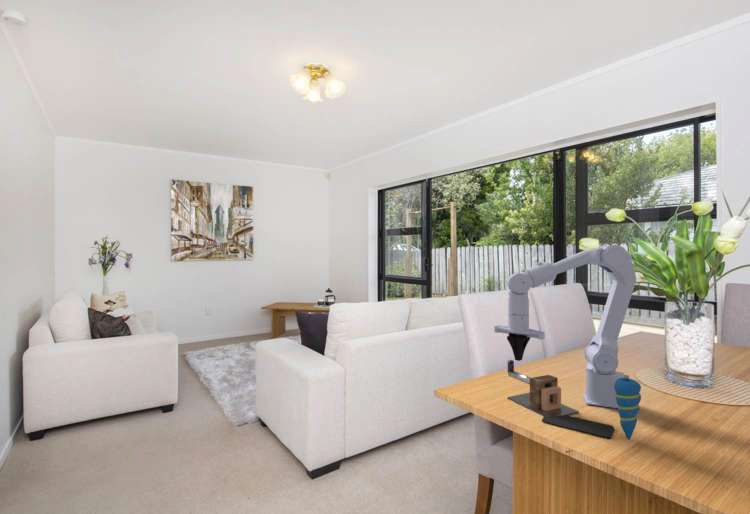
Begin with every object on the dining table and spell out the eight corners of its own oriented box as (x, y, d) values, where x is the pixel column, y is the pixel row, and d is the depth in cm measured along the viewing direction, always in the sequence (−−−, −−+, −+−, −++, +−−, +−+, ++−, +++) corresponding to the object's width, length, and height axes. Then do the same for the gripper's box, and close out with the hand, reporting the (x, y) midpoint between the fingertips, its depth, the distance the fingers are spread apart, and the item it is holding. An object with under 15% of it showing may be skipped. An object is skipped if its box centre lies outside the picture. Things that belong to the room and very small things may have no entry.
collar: (561, 407, 104) (561, 387, 104) (546, 411, 102) (546, 390, 102) (556, 405, 106) (556, 385, 106) (541, 408, 104) (541, 388, 103)
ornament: (645, 445, 85) (646, 377, 85) (619, 443, 86) (619, 375, 86) (634, 434, 90) (635, 369, 90) (610, 432, 91) (610, 368, 91)
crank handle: (544, 388, 107) (544, 371, 107) (539, 389, 106) (539, 372, 106) (511, 375, 119) (511, 359, 119) (506, 376, 118) (506, 360, 118)
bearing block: (557, 404, 106) (557, 377, 106) (538, 409, 103) (538, 381, 103) (548, 400, 109) (548, 374, 109) (529, 405, 106) (529, 378, 106)
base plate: (579, 412, 102) (579, 411, 102) (551, 419, 98) (551, 418, 98) (533, 393, 116) (533, 391, 116) (507, 398, 112) (507, 397, 112)
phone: (548, 410, 102) (614, 425, 93) (548, 414, 102) (614, 429, 93) (540, 420, 97) (610, 437, 87) (540, 424, 97) (610, 441, 87)
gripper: (549, 315, 112) (549, 361, 112) (502, 309, 122) (502, 352, 123) (538, 318, 107) (538, 367, 107) (490, 312, 117) (491, 357, 118)
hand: (518, 359), depth 115 cm, fingers closed
